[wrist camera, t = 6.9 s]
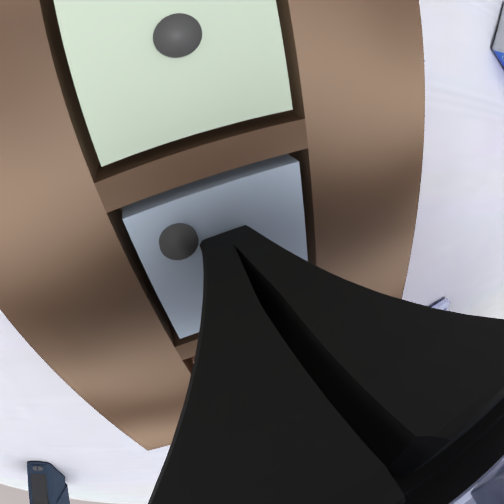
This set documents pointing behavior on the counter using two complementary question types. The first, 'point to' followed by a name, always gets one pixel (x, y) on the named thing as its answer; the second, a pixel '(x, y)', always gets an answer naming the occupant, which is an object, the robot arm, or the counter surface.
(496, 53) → the medicine box
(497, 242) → the counter surface
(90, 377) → the block tray
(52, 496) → the vaping device
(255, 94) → the tile
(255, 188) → the tile
